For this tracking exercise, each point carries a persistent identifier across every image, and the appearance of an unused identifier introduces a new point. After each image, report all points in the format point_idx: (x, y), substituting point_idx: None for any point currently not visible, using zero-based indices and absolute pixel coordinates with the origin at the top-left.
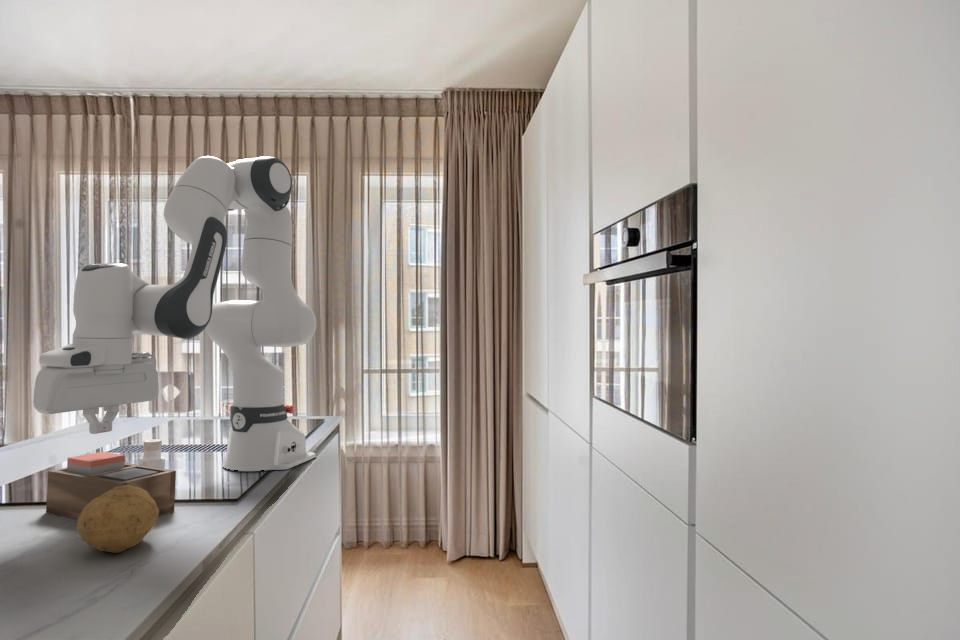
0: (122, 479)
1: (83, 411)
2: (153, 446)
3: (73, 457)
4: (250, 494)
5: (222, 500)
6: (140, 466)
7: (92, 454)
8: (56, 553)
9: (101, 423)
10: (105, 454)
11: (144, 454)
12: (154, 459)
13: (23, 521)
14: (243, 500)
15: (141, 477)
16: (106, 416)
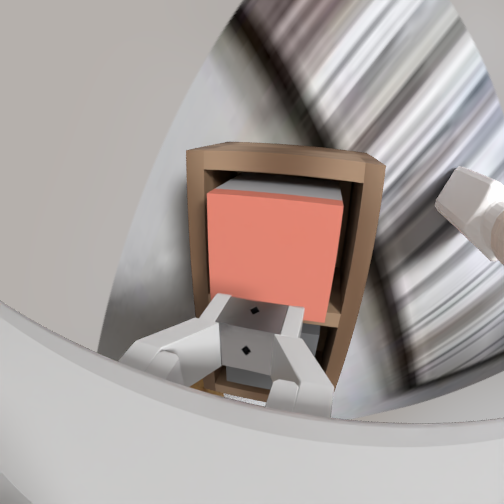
0: (226, 374)
1: (127, 355)
2: (501, 261)
3: (220, 205)
4: (443, 384)
5: (406, 374)
6: (340, 336)
7: (287, 220)
8: (142, 328)
9: (231, 364)
10: (307, 261)
11: (487, 221)
12: (480, 250)
13: (177, 161)
14: (409, 394)
15: (254, 393)
16: (284, 368)
